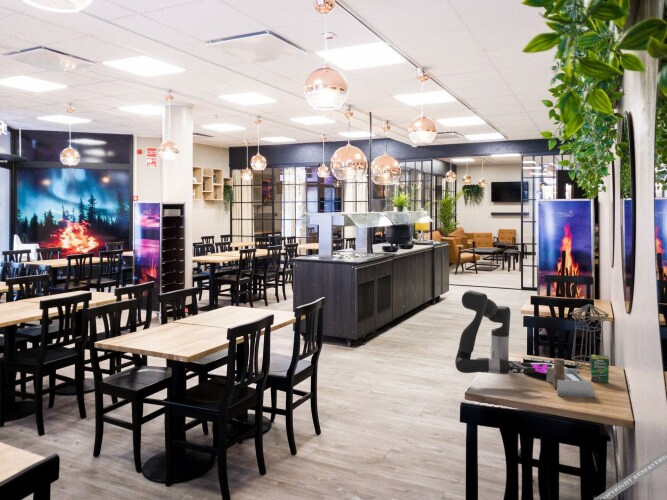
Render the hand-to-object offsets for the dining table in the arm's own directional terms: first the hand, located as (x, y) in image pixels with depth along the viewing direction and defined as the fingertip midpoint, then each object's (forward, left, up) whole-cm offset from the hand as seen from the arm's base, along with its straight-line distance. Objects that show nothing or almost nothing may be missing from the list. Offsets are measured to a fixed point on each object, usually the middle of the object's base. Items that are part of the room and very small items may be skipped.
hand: (533, 367), depth 253 cm
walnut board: (+12, 0, -9) cm, 15 cm away
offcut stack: (+18, 0, -10) cm, 20 cm away
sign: (+13, +28, -10) cm, 33 cm away
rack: (+16, 0, -9) cm, 18 cm away
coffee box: (+35, +16, -10) cm, 40 cm away
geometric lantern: (+37, +42, -10) cm, 57 cm away
